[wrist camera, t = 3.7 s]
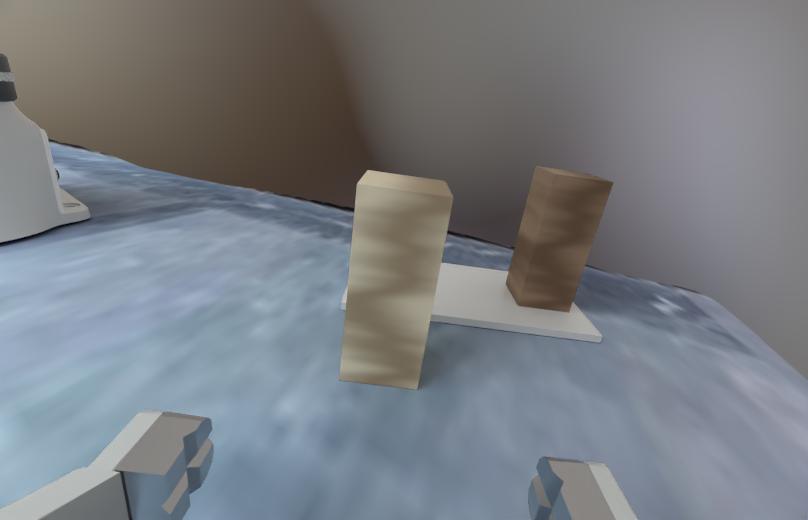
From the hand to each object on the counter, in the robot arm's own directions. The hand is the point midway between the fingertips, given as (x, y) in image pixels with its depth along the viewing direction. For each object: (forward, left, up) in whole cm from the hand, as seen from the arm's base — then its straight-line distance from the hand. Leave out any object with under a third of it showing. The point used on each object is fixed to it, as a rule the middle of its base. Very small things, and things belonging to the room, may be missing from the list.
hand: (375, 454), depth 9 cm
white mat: (-13, +20, -6) cm, 25 cm away
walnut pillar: (-8, +25, -6) cm, 27 cm away
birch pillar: (-9, +8, -6) cm, 14 cm away
